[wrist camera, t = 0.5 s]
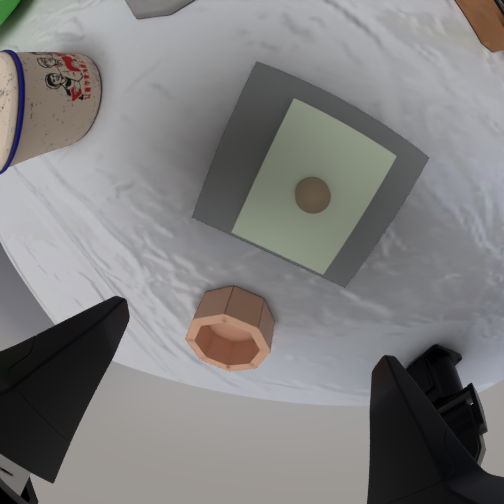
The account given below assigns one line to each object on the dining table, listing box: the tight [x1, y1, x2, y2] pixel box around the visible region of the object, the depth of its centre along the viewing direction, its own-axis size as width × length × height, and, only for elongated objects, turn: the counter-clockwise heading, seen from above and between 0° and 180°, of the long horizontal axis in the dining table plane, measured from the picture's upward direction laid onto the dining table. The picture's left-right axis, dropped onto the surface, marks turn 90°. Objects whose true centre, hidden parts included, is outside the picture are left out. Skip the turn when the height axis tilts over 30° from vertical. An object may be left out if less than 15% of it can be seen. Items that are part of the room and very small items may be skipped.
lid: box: [231, 98, 397, 275], centre depth 16 cm, size 7×9×3 cm
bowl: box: [185, 286, 274, 371], centre depth 23 cm, size 7×7×4 cm
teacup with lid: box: [0, 50, 101, 174], centre depth 11 cm, size 12×9×12 cm
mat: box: [192, 61, 429, 288], centre depth 17 cm, size 13×12×1 cm
